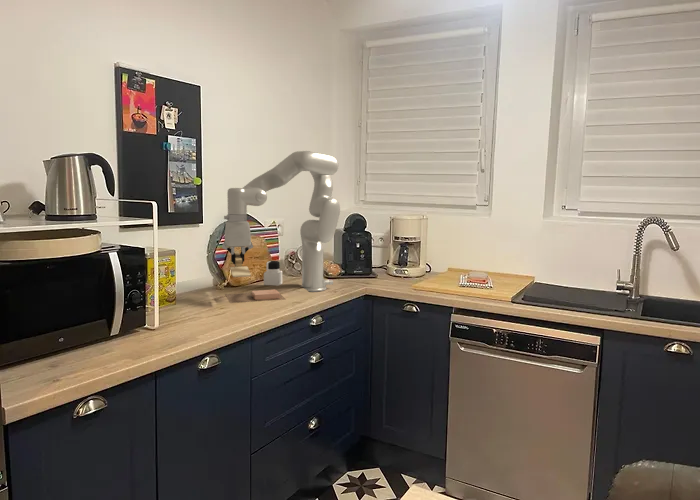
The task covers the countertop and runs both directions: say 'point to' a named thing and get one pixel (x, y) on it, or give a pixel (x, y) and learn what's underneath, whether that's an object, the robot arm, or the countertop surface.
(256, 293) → the tile
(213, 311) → the countertop surface
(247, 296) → the board
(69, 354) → the countertop surface
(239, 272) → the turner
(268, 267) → the medicine bottle
